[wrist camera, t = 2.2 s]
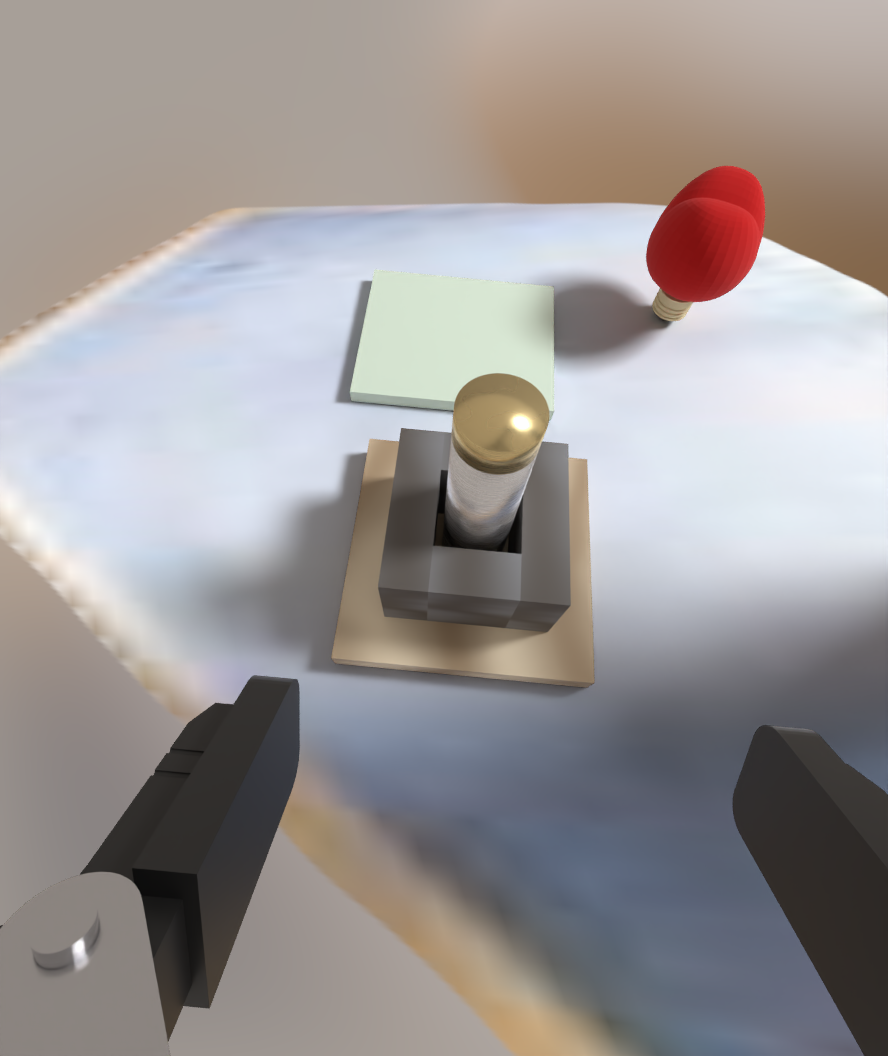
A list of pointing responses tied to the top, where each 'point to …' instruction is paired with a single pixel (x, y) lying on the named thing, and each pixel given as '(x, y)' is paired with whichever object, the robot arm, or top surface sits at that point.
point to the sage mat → (451, 338)
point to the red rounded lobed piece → (705, 240)
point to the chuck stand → (468, 573)
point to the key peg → (491, 458)
